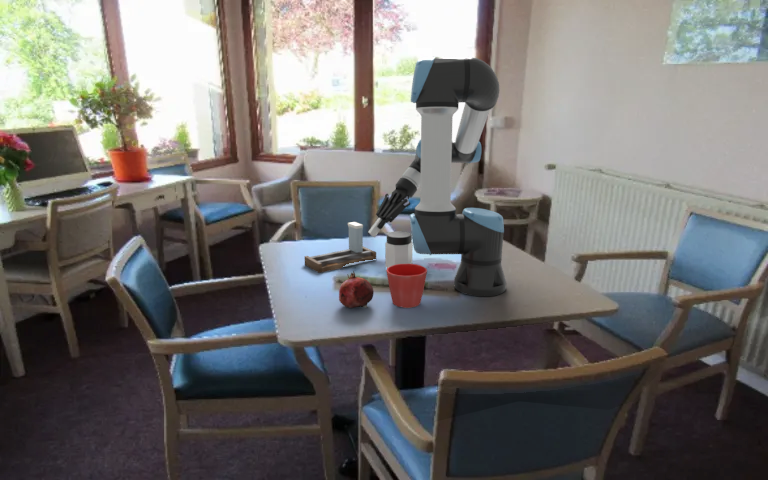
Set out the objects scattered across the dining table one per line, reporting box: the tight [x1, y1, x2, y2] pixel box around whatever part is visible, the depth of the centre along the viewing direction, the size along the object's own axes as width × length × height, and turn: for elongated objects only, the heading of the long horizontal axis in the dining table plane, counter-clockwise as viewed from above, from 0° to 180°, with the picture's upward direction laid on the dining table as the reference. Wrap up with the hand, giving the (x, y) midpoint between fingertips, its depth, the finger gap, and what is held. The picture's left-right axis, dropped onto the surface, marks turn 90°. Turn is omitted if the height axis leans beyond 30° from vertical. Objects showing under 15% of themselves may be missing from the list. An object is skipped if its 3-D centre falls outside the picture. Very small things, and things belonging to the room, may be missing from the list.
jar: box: [384, 230, 414, 268], centre depth 161 cm, size 9×8×12 cm
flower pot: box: [385, 263, 428, 309], centre depth 135 cm, size 11×11×10 cm
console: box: [304, 246, 377, 274], centre depth 169 cm, size 22×10×3 cm, turn 125°
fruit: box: [338, 270, 375, 309], centre depth 132 cm, size 9×10×10 cm
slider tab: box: [347, 221, 364, 254], centre depth 171 cm, size 3×5×11 cm, turn 35°
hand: (371, 234), depth 175 cm, fingers closed
